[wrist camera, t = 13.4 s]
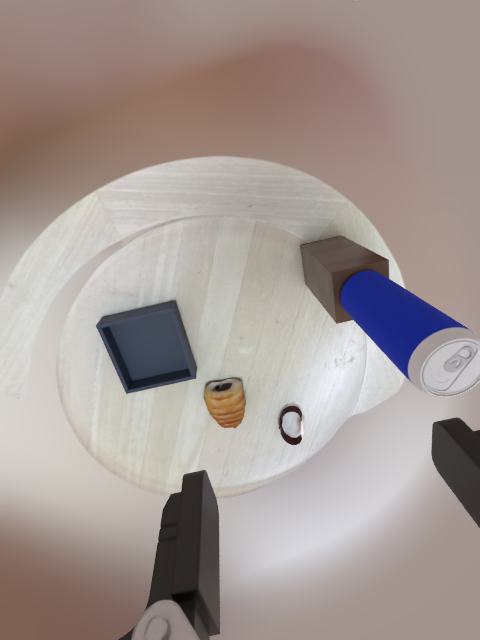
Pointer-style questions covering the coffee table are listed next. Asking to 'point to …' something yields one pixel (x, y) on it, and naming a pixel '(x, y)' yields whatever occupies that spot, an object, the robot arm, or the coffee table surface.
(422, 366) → the beverage can
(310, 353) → the coffee table surface
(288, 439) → the watch
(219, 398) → the pastry
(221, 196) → the coffee table surface
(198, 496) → the robot arm
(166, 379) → the tray
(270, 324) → the coffee table surface
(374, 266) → the block
